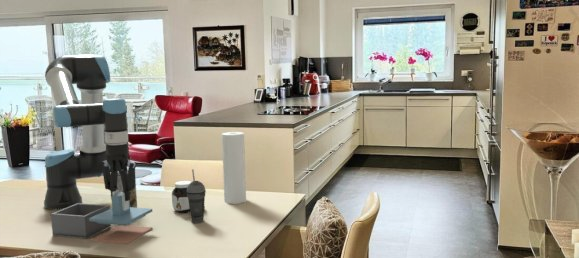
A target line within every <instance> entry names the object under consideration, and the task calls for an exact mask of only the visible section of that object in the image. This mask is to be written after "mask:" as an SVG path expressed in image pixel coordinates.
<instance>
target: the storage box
mask: <svg viewBox="0 0 579 258" xmlns="http://www.w3.org/2000/svg"><path fill="white" fill-rule="evenodd" d="M110 207H111V206H110V205H106V204H92V203H77V204H75V205H72V206H70V207H67V208H65V209H59V210H58V211H55V212H53V213H51V214H50V217H51V218H50V219H51V230H52V236H53V237H60V238H61V237H62V238H70V239H71V238H72V239H80V240H81V239H83V240H87V239H89V238H91V237H93V236H96V235H97V234H100V233H101V232H103V231H104V230H107V229H109V228H111V227H112V225H111V224H99V223H97V222H93V221H89V218H91V217H93V216H96V215H98V214H100V213H102V212H105V211H107V210H109V209H111V208H110ZM110 226H111V227H110Z"/></svg>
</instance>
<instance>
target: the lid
mask: <svg viewBox="0 0 579 258" xmlns="http://www.w3.org/2000/svg"><path fill="white" fill-rule="evenodd" d="M111 198H112V199H111ZM110 199H111V208H110V209H109V210H107V211H105V212H102V213H100V214H98V215H96V216H93V217H91V218H89V221H93V222H97V223H99V224H111V226H112V225H115V226H118V225H124V226H127V225H131V224H133V223H135V222H136V221H138V220H141V219H142V218H144V217H146V216H147V215H148V214H151V213H152V212H153V208H149V207H148V208H146V207H137V208H134V207H130V200H129V209H127V210H125V211H123V206H122V192H120V193H117V194H115V195H113V196H111V195H110Z"/></svg>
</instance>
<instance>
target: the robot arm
mask: <svg viewBox="0 0 579 258" xmlns="http://www.w3.org/2000/svg"><path fill="white" fill-rule="evenodd" d="M44 76H45V81H46V83H47V85H48V86H49V87H50V88H51V92H52V94H53V100H54V102H55V106H53V108H52V120H53V123H54V124H53V125H54V126H55V127H56V128H73V127H81V128H82V144H81V145H80V147H79V151H76V152H75V151H74V149H71V148H70V149H63V150H57V151H54V152H51V153H48V154H47V155H46V156H45V158H44V168H45V177H46V193H45V196H44V200H43V206H44V207H43V208H44V209H46V210H62V209H65V208H67V207H70V206H72V205H75V204H77V203H81V204H83V197H82V195H81V192H80V191H79V189H78V188H79V187H78V186H77V180H82V179H89V178H101V177H103V181H104V188H105V190H109V192H110V199H111V200H112V198H111V196H113V195H115V194H117V193H119V190H117V189H118V188H117V178H118V172H119V173H120V176H121V181H122V186H123V191H122V206H123V211H125V210H127V209H129V200H130V190H133V189H135V179H136V167H137V165H138V163H137V162H136V161H132V160H131V159H130V156H129V154H130V148H129V145H130V144H129V132H128V119H127V118H128V117H127V111H128V110H127V109H128V108H127V104H126V100H125V99H124V98H123V97H122V98H119V97H117V98H106V99H104V97H103V91H105V89H106V88H107V84H108V83H110V82H111V72H110V66H109V63H108V61H107V59H106V57H105V56H104V55H100V54H77V55H75V54H74V55H66V54H65V55H62V56H59V57H57V58H55V59H54V60H52V61H51V62H50V63H49V64H48V65H47V67H46V69H45V72H44ZM74 85H76V88H77V90H79V91H80V97H81V99H80V101H79V99H78V96H77V93H76V90H75V88H74ZM127 142H128V143H127ZM127 171H128V174H127Z"/></svg>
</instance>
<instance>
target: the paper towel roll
mask: <svg viewBox="0 0 579 258" xmlns="http://www.w3.org/2000/svg"><path fill="white" fill-rule="evenodd" d="M221 146H222V147H221V149H222V171H223V172H222V175H223V199H224V203H226V204H228V205H229V204H233V205H234V204H235V205H236V204H237V205H238V204H242V203H246V201H247V186H246V184H247V183H246V182H247V181H246V158H245V157H246V154H245V132H243V131H228V132H222V133H221Z"/></svg>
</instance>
